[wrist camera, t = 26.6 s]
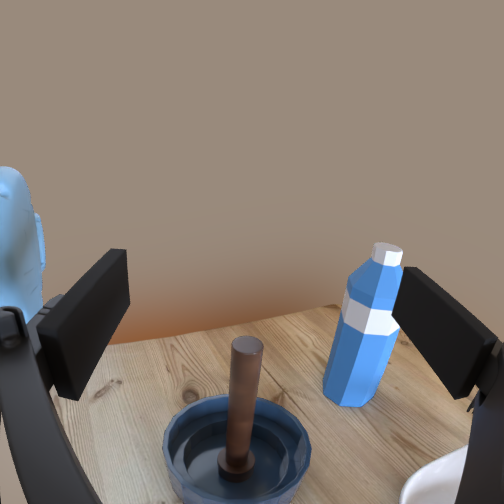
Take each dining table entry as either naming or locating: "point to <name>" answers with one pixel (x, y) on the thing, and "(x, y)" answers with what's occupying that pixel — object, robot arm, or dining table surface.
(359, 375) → the water bottle
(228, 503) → the bowl
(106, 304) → the robot arm
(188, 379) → the dining table surface
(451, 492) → the spoon rest
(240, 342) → the pestle
